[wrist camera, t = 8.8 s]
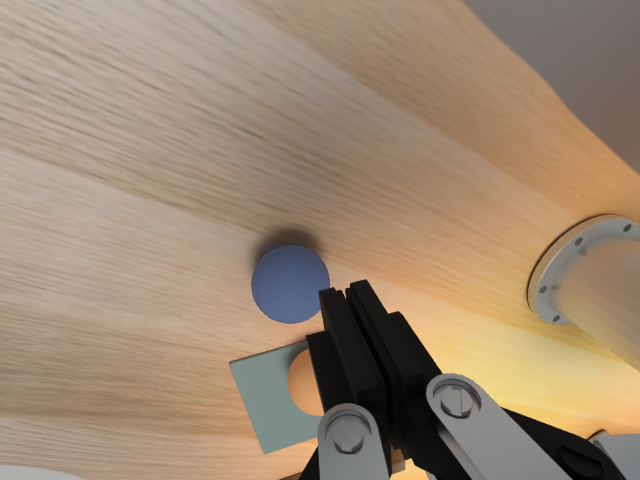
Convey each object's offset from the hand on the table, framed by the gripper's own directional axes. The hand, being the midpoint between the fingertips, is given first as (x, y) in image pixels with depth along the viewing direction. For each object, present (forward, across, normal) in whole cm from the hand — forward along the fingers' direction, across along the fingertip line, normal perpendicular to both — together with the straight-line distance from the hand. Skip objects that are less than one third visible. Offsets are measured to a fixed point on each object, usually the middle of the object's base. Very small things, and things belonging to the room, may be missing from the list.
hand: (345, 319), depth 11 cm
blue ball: (+10, +1, +5) cm, 12 cm away
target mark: (+13, +1, +20) cm, 25 cm away
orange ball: (+11, +1, +16) cm, 19 cm away
